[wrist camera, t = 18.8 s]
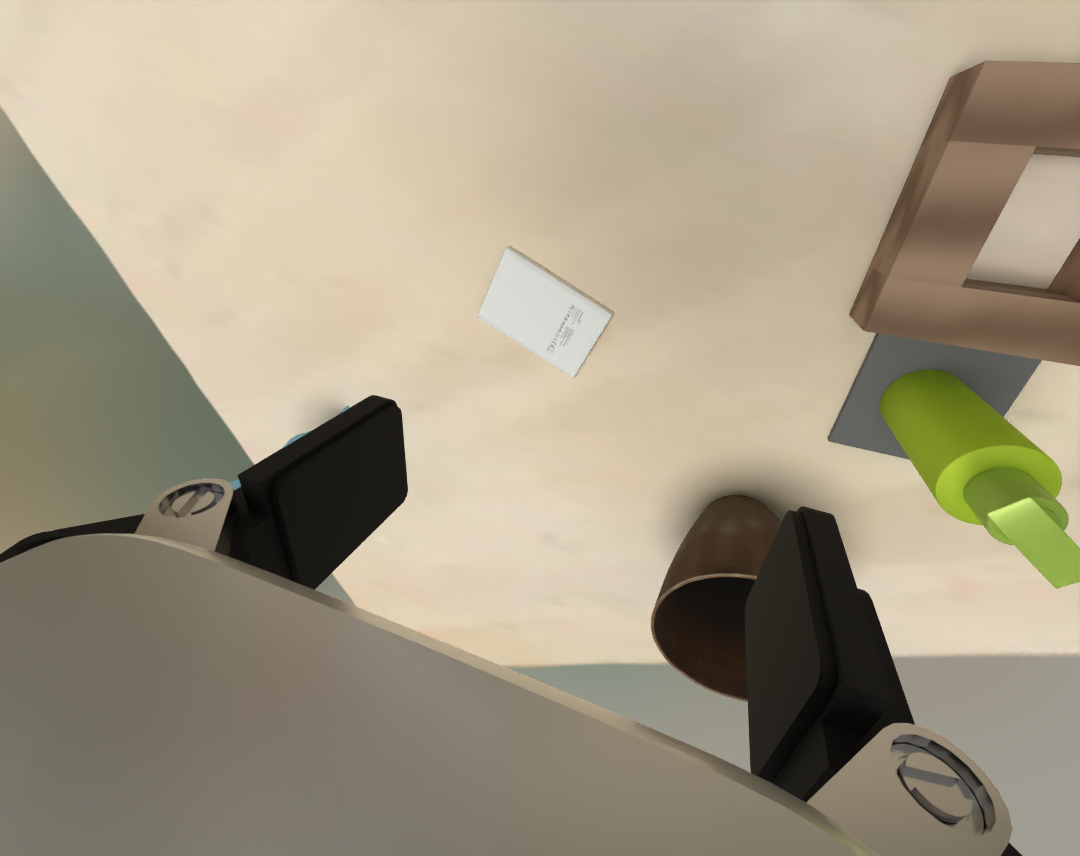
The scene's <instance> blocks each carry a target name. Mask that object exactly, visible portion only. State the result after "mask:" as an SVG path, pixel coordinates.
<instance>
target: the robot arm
mask: <svg viewBox="0 0 1080 856" xmlns="http://www.w3.org/2000/svg"><path fill="white" fill-rule="evenodd" d="M238 478H239V481H240V484H241V487H239V488H237V489H236V490H234V489H233V487H232V486H231V484H230V483H228V482H226V481H224V480H220V479H213V478H211V479H198V480H193V481H189V482H185V483H182V484H179V485H176V486H174V487H172V488H170V489H168V490H166V491H165V492H163V493H162V494H160V495H159V496H158V497H156V498H155V499H154V501H153V502H152V503H151V504H150V506H149V508H148V510H147V511H146V513H145V514H142V515H136V516H131V517H125V518H119V519H114V520H108V521H103V522H97V523H91V524H86V525H80V526H75V527H69V528H64V529H58V530H54V531H48V532H42V533H38V534H34V535H32V536H29V537H27V538H25V539H23V540H21V541H19V542H18V543H16V544H15V545H14V546H12V547H10V548H9V549H8V550H6V551H4V552H3V553H2V554H0V856H1022V855H1021V854H1020V853H1019V852H1018V851H1017V850H1016V849H1015V848H1014V847H1013V846H1012V845H1011V844H1010V843H1009V840H1010V836H1011V832H1012V825H1011V821H1010V816H1009V811H1008V809H1007V807H1006V805H1005V803H1004V801H1003V799H1002V797H1001V795H1000V793H999V791H998V790H997V788H996V787H995V786H994V784H993V783H992V782H991V780H990V779H989V778H988V776H987V775H986V774H985V773H984V771H983V770H982V769H981V768H980V767H979V766H978V765H977V764H976V763H975V762H974V761H973V760H972V759H971V758H970V757H969V756H968V755H967V754H965V753H964V752H963V751H962V750H961V749H959V748H958V747H956V746H955V745H954V744H952V743H951V742H950V741H948V740H947V739H945V738H944V737H942V736H940V735H938V734H936V733H934V732H932V731H930V730H928V729H926V728H923V727H920V726H917V725H915V724H914V721H913V718H912V715H911V712H910V709H909V706H908V703H907V700H906V697H905V694H904V692H903V689H902V686H901V683H900V680H899V677H898V674H897V672H896V668H895V665H894V663H893V660H892V657H891V654H890V651H889V648H888V645H887V642H886V639H885V636H884V633H883V631H882V628H881V625H880V622H879V619H878V616H877V613H876V610H875V607H874V604H873V601H872V599H871V597H870V595H869V594H868V593H867V592H866V591H864V590H861V589H858V588H857V586H856V583H855V580H854V577H853V573H852V570H851V567H850V564H849V561H848V558H847V555H846V551H845V548H844V545H843V542H842V539H841V536H840V533H839V529H838V526H837V523H836V520H835V517H834V516H833V515H832V514H830V513H826V512H822V511H818V510H814V509H810V508H806V507H803V506H802V507H800V508H799V509H798V510H797V512H794V511H791V510H789V511H788V512H787V513H786V515H785V517H784V519H783V521H782V523H781V526H780V528H779V530H778V532H777V534H776V537H775V539H774V541H773V543H772V545H771V547H770V550H769V552H768V554H767V556H766V558H765V561H764V563H763V565H762V567H761V569H760V572H759V574H758V576H757V578H756V580H755V583H754V585H753V587H752V589H751V591H750V593H749V596H748V598H747V601H746V606H745V638H746V664H747V690H748V715H749V716H748V717H749V741H750V742H749V743H750V767H751V773H750V772H747V771H746V770H743V769H741V768H739V767H737V766H735V765H733V764H731V763H729V762H727V761H725V760H723V759H721V758H718V757H716V756H714V755H712V754H709V753H707V752H705V751H702V750H700V749H698V748H695V747H693V746H691V745H689V744H686V743H684V742H682V741H679V740H677V739H674V738H672V737H670V736H667V735H665V734H663V733H661V732H658V731H656V730H654V729H652V728H649V727H647V726H645V725H642V724H640V723H638V722H635V721H633V720H630V719H628V718H626V717H624V716H621V715H619V714H616V713H614V712H611V711H609V710H607V709H604V708H602V707H600V706H597V705H595V704H592V703H590V702H587V701H585V700H582V699H580V698H578V697H575V696H573V695H571V694H568V693H565V692H563V691H561V690H558V689H556V688H554V687H551V686H549V685H546V684H544V683H542V682H539V681H537V680H534V679H532V678H529V677H527V676H525V675H522V674H520V673H517V672H515V671H512V670H510V669H508V668H505V667H503V666H500V665H498V664H496V663H493V662H491V661H488V660H486V659H483V658H481V657H478V656H476V655H474V654H471V653H469V652H466V651H464V650H461V649H459V648H456V647H454V646H452V645H449V644H447V643H444V642H442V641H439V640H437V639H434V638H432V637H430V636H427V635H425V634H422V633H420V632H417V631H415V630H412V629H410V628H407V627H405V626H402V625H400V624H398V623H395V622H393V621H390V620H388V619H385V618H383V617H380V616H378V615H375V614H373V613H370V612H368V611H366V610H363V609H361V608H358V607H356V606H353V605H351V604H348V603H346V602H343V601H341V600H338V599H336V598H333V597H330V596H328V595H326V594H323V593H321V592H318V591H315V589H316V588H317V587H318V586H319V585H320V584H321V583H322V582H323V581H324V580H325V579H326V578H327V577H328V576H329V575H330V574H331V573H332V572H333V571H334V570H335V569H336V568H337V567H338V566H339V565H340V564H341V563H342V562H343V561H344V560H345V559H346V558H347V557H348V556H349V555H350V554H351V553H352V552H353V551H354V550H355V549H356V548H357V547H358V546H359V545H360V544H361V543H362V542H363V541H364V540H365V539H366V538H367V537H369V536H370V535H371V534H372V533H373V532H374V531H375V530H376V529H377V528H378V527H379V526H380V525H381V524H382V523H383V522H384V521H385V520H386V519H387V518H388V517H389V516H390V515H391V514H392V513H393V512H394V511H395V510H396V509H397V508H398V507H399V506H400V505H401V504H402V503H403V502H404V500H405V498H406V496H407V492H408V485H407V473H406V461H405V449H404V436H403V424H402V413H401V410H400V408H399V407H397V404H396V402H395V401H393V400H391V399H387V398H383V397H379V396H375V395H372V396H369V397H367V398H366V399H364V400H362V401H361V402H359V403H357V404H356V405H354V406H352V407H351V408H349V409H347V410H346V411H344V412H342V413H341V414H339V415H337V416H336V417H334V418H332V419H331V420H329V421H327V422H326V423H324V424H322V425H321V426H319V427H317V428H316V429H314V430H312V431H311V432H309V433H307V434H306V435H304V436H302V437H300V438H299V439H297V440H295V441H294V442H292V443H290V444H289V445H287V446H285V447H284V448H282V449H280V450H279V451H277V452H275V453H274V454H272V455H270V456H269V457H267V458H265V459H264V460H262V461H260V462H259V463H257V464H255V465H254V466H252V467H251V468H249V469H247V470H245V471H244V472H242V473H240V474H239V475H238Z"/></svg>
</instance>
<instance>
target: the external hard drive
mask: <svg viewBox="0 0 1080 856" xmlns="http://www.w3.org/2000/svg"><path fill="white" fill-rule="evenodd" d="M613 314H614V313H613V312H612V311H610V310H608V309H607V308H605V307H604V306H602V305H601V304H599V303H598V302H596V301H594V300H593V299H591V298H590V297H588V296H587V295H585V294H584V293H582V292H580V291H579V290H577V289H576V288H574V287H573V286H571V285H570V284H568V283H566V282H565V281H563V280H562V279H560V278H559V277H557V276H555V275H554V274H552V273H551V272H549V271H548V270H546V269H544V268H543V267H541V266H540V265H538V264H537V263H535V262H534V261H532V260H530V259H529V258H527V257H526V256H524V255H523V254H521V253H519V252H518V251H516V250H515V249H513V248H512V247H507V248H506V250H505V252H504V254H503V256H502V259H501V261H500V263H499V266H498V268H497V271H496V273H495V275H494V278H493V280H492V282H491V285H490V287H489V289H488V292H487V294H486V297H485V299H484V301H483V304H482V306H481V308H480V311H479V314H478V317H479V318H480V319H482V320H483V321H485V322H486V323H488V324H490V325H491V326H493V327H494V328H496V329H497V330H499V331H500V332H502V333H504V334H505V335H507V336H508V337H510V338H511V339H513V340H514V341H516V342H517V343H519V344H521V345H522V346H524V347H525V348H527V349H528V350H530V351H531V352H533V353H534V354H536V355H538V356H539V357H541V358H542V359H544V360H545V361H547V362H548V363H550V364H551V365H553V366H555V367H556V368H558V369H559V370H561V371H562V372H564V373H565V374H567V375H568V376H570V377H572V378H574V377H575V375H576V374H577V372H578V370H579V369H580V367H581V366H582V364H583V362H584V361H585V359H586V358H587V356H588V354H589V353H590V351H591V349H592V348H593V346H594V344H595V343H596V341H597V340H598V338H599V337H600V335H601V333H602V332H603V330H604V329H605V327H606V325H607V324H608V322H609V320H610V319H611V317H612V316H613Z"/></svg>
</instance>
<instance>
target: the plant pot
mask: <svg viewBox="0 0 1080 856" xmlns="http://www.w3.org/2000/svg"><path fill="white" fill-rule="evenodd" d="M780 526H781V522H780V520H779V519H778V518H777V517H776V516H775V515H774V514H773V513H772V512H771V511H770V510H769V509H768V508H767V507H766V506H765V505H764V504H762V503H761V502H759V501H757V500H755V499H752V498H748V497H744V496H729V497H724V498H721V499H718V500H716V501H715V502H713V503H712V504H711V505H710V506H709V507H708V508H707V509H706V510H705V511H704V512H703V513H702V515H701V516H700V517H699V518H698V520H697V521H696V522H695V524H694V525H693V526H692V528H691V529H690V531H689V532H688V534H687V535H686V537H685V539H684V540H683V542H682V544H681V546H680V547H679V549H678V551H677V553H676V555H675V557H674V559H673V561H672V563H671V565H670V568H669V570H668V572H667V575H666V577H665V580H664V582H663V585H662V588H661V590H660V593H659V596H658V599H657V601H656V604H655V607H654V610H653V613H652V617H651V630H652V635H653V638H654V641H655V643H656V645H657V647H658V649H659V650H660V652H661V653H662V655H663V656H664V657H665V659H666V660H667V661H668V662H669V663H670V664H671V665H672V666H673V667H674V668H675V669H676V670H677V671H679V672H680V673H681V674H682V675H684V676H685V677H687V678H688V679H690V680H691V681H693V682H694V683H696V684H698V685H700V686H702V687H704V688H706V689H708V690H711V691H713V692H715V693H718V694H720V695H723V696H727V697H730V698H734V699H738V700H742V701H748V690H747V664H746V638H745V606H746V601H747V598H748V596H749V593H750V591H751V589H752V587H753V585H754V583H755V580H756V578H757V576H758V574H759V572H760V569H761V567H762V565H763V563H764V561H765V558H766V556H767V554H768V552H769V550H770V547H771V545H772V543H773V541H774V539H775V537H776V534H777V532H778V530H779V528H780Z"/></svg>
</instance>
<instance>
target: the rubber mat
mask: <svg viewBox="0 0 1080 856" xmlns="http://www.w3.org/2000/svg"><path fill="white" fill-rule="evenodd" d="M1041 361H1042V360H1040V359H1034V358H1027V357H1021V356H1015V355H1009V354H1003V353H997V352H991V351H984V350H978V349H972V348H966V347H960V346H954V345H948V344H941V343H935V342H929V341H923V340H917V339H911V338H905V337H898V336H892V335H886V334H880V333H877V334H876V336H875V338H874V340H873V342H872V344H871V347H870V349H869V351H868V353H867V355H866V357H865V359H864V362H863V364H862V366H861V368H860V370H859V372H858V374H857V377H856V379H855V381H854V383H853V385H852V387H851V389H850V392H849V394H848V396H847V398H846V400H845V402H844V404H843V407H842V409H841V411H840V413H839V415H838V417H837V419H836V422H835V424H834V426H833V428H832V430H831V432H830V435H829V437H828V440H829V442H834V443H838V444H843V445H847V446H852V447H856V448H861V449H865V450H870V451H874V452H879V453H883V454H888V455H892V456H897V457H901V458H906V459H909V457H908V456H907V454H906V453H905V451H904V450H903V448H902V447H901V445H900V443H899V442H898V440H897V439H896V437H895V436H894V434H893V433H892V431H891V430H890V428H889V427H888V425H887V424H886V422H885V420H884V419H883V417H882V415H881V412H880V400H881V397H882V395H883V393H884V391H885V390H886V389H887V388H888V386H889V385H890V384H892V383H893V382H894V381H895V380H897V379H898V378H900V377H902V376H904V375H906V374H909V373H911V372H915V371H920V370H940V371H944V372H947V373H950V374H952V375H954V376H955V377H957V378H958V379H959V380H960V381H961V382H963V383H964V384H965V385H966V386H967V387H968V388H970V389H971V390H972V391H973V392H974V393H975V394H977V395H978V396H979V397H980V398H981V399H982V400H984V401H985V402H986V403H987V404H988V405H989V406H991V407H992V408H993V409H994V410H995V411H996V412H997V413H999V414H1000V415H1001V416H1002V417H1004V416H1005V414H1006V413H1007V411H1008V410H1009V408H1010V407H1011V405H1012V404H1013V402H1014V401H1015V399H1016V398H1017V396H1018V395H1019V393H1020V392H1021V390H1022V389H1023V387H1024V386H1025V384H1026V383H1027V381H1028V380H1029V379H1030V377H1031V376H1032V374H1033V373H1034V371H1035V370H1036V368H1037V367H1038V365H1039V364H1040V362H1041Z"/></svg>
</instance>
